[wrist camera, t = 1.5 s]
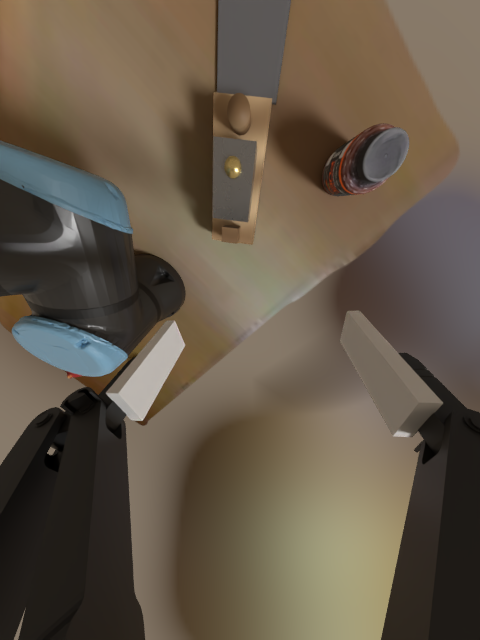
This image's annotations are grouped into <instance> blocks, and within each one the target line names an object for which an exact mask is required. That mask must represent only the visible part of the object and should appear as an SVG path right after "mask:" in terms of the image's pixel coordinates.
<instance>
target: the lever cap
mask: <svg viewBox="0 0 480 640" xmlns="http://www.w3.org/2000/svg"><path fill="white" fill-rule="evenodd" d="M257 151H258V150H257V141H250V140H241V139H233V138H224V137H215V136H213V218H217V219H225V220H233V221H241V222H248V221H249V220H250V211H251V203H252V194H253V185H254V177H255V168H256V160H257Z"/></svg>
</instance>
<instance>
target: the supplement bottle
mask: <svg viewBox="0 0 480 640" xmlns="http://www.w3.org/2000/svg"><path fill="white" fill-rule="evenodd" d="M408 149H409V138H408V135H407V133H406V131H405V130H403V129H401V128H398V127H397V128H396V127H394V126H393V125H390V124H377V125H374V126H372V127H370V128H368V129H366V130H364V131H363V132H361V133H360V134H359V135H357V136H356V137H354V138H353V139H351V140H350V141H348V142H347V143H345V144H344V145H343V146H341V147H340V148H338V149H337V150H336V151H335V152H334V153H333V154H332V155H331V156H330V158H329V159H328V161H327V162H326V164H325V167H324V170H323V174H322V183H323V187H324V189H325V190H326V192H327V193H329V194H330V195H333V196H346V195H358V194H364V193H368V192H370V191H372V190H374V189H376V188H378V187H379V186H380V185H382V184H383V183H384V182H385V181H386V180H387V179H388V178H389V177H390V176H391V175H392V174H394V173H395V172H396V171H397V170H398V168H399V167H400V166H401V165H402V163H403V161H404V160H405V157H406V155H407V152H408Z"/></svg>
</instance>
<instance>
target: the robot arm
mask: <svg viewBox="0 0 480 640" xmlns="http://www.w3.org/2000/svg"><path fill="white" fill-rule="evenodd" d="M132 233H133V229H132V228H131V226H130V220H129V215H128V209H127V204H126V200H125V197H124V195H123V194H122V192H121V191H120V190H119V188H118V187H117V186H116V185H114V184H113V183H112V182H110V181H108V180H106V179H104V178H102V177H99V176H97V175H94V174H92V173H89V172H87V171H84V170H81V169H79V168H76V167H73V166H70V165H68V164H65V163H62V162H59V161H57V160H54V159H51V158H49V157H46V156H43V155H40V154H37V153H35V152H32V151H29V150H26V149H23V148H21V147H18V146H15V145H12V144H9V143H6V142H3V141H0V296H8V295H18V294H22V295H23V296H24V298H25V299H26V301H27V303H28V305H29V307H30V308H31V310H32V315H30V316H24V317H22V318H20V319H19V321H18V322H17V323H16V324H14V327H13V328H12V334H13V336H14V338H15V339H16V340H17V342H18V343H19V344H20V345H21V346H22V347H24V348H25V349H26V350H27V351H29V352H30V353H31V354H33V355H34V356H36V357H38V358H40V359H41V360H43V361H45V362H47V363H49V364H51V365H53V366H55V367H57V368H60V369H62V370H65V371H68V372H71V373H74V374H79V375H83V376H93V377H96V376H103V375H105V374H109V373H111V372H112V371H114V370H115V369H116V368H117V367H118V366H119V365H120V364H121V363H122V362H123V361H125V360H126V359H127V358H128V355H129V354H130V353H131V352H132V351H133V350H134V348H135V347H136V346H137V345H138V344H139V343H140V342H141V340H142V339H143V338H144V337H145V336H146V335H147V334H148V332H149V331H150V330H151V329H152V328H153V327H154V326H155V324H156V323H157V322H159V321H161V320H163V319H165V318H167V317H170V316H172V315H174V314H175V313H176V312H177V311H178V310H179V309H180V307H181V306H182V305H183V303H184V300H185V287H184V284H183V281H182V279H181V277H180V276H179V274H178V273H177V272H176V270H175V269H174V268H173V267H172V266H171V265H170V264H168V263H167V262H166V261H164V260H162V259H160V258H158V257H156V256H153V255H148V254H139V255H135V256H134V249H133V241H132ZM340 342H341V344H342V346H343V348H344V349H345V351H346V353H347V355H348V357H349V358H350V360H351V362H352V364H353V366H354V367H355V369H356V371H357V373H358V375H359V376H360V378H361V380H362V382H363V383H364V385H365V387H366V389H367V390H368V392H369V394H370V396H371V398H372V399H373V401H374V403H375V405H376V407H377V408H378V410H379V412H380V414H381V416H382V417H383V419H384V421H385V423H386V424H387V426H388V428H389V430H390V432H391V433H392V435H393V436H400V437H413V436H414V435H415V434H416V433H417V431H419V432H420V434H421V436H422V437H423V439H424V440H423V441H422V442H421V443H420V444H419V445H418V446H417V447H416V448H415V450H414V451H415V452H418V451H420V452H419V457H418V462H417V467H416V472H415V477H414V482H413V486H412V491H411V496H410V501H409V506H408V511H407V516H406V521H405V526H404V530H403V535H402V540H401V545H400V550H399V555H398V560H397V564H396V569H395V574H394V579H393V584H392V589H391V594H390V598H389V604H388V608H387V613H386V618H385V623H384V628H383V633H382V638H381V640H480V413H479V412H476V411H473V410H470V409H467V408H466V407H465V406H464V405H463V404H462V403H461V402H460V401H459V400H458V399H457V398H456V397H455V396H454V395H453V394H452V393H451V392H450V391H449V390H448V389H447V388H446V387H445V386H444V385H443V384H442V383H441V382H440V381H439V380H438V379H437V378H435V377H434V375H433V374H432V373H431V372H430V371H428V370H427V368H426V367H425V366H424V365H423V364H422V363H421V362H420V361H419V360H417V359H416V358H414V357H412V356H411V355H409V354H407V353H397V352H396V350H394V349H393V347H392V346H391V345H390V344H389V343H388V342H387V341H386V339H385V338H384V337H383V336H382V335H381V334H380V333H379V332H378V331H377V330H376V329H375V328H374V326H373V325H372V324H371V323H370V322H369V321H368V320H367V319H366V317H365V316H364V315H363V314H362V313H361V312H360V311H347V314H346V318H345V322H344V326H343V331H342V335H341V339H340ZM184 347H185V344H184V341H183V339H182V337H181V334H180V332H179V330H178V327H177V325H176V322H175V321H166V322H165V323H164V324H163V326H162V327H161V328H160V329H159V330H158V332H157V333H156V334H155V335H154V336H153V337H152V339H151V340H150V341H149V342H148V343H147V345H146V346H145V347H144V348H143V349H142V350H141V352H140V353H139V354H138V355H137V356H136V357H134V358H133V359H131V360H130V361H129V362H127V363H126V364H125V365H124V367H123V368H122V369H121V370H120V371H119V372H118V374H117V376H115V377H114V378H113V379H112V380H111V382H110V383H109V384H108V385H107V386H106V387H105V388H104V390H103V391H102V392H101V393H100V394H99V395H97V394H96V393H95V392H94V391H93V390H92V389H91V388H89V387H85V388H81V389H79V390H77V391H75V392H74V393H72V394H71V395H69V396H68V397H67V398H66V399H65V400H64V401H63V402H62V404H61V406H60V407H62V408H63V409H64V410H65V412H64V411H62V410H61V409H59V408H57V407H55V408H51V409H48V410H46V411H44V412H42V413H41V414H40V415H38V416H37V417H36V418H35V419H34V420H33V421H32V422H31V423H30V424H29V425H28V427H27V428H26V430H25V431H24V432H23V434H22V435H21V437H20V438H19V439H18V441H17V442H16V444H15V445H14V447H13V448H12V450H11V451H10V452H9V454H8V455H7V457H6V458H5V460H4V461H3V462H2V464H1V465H0V640H14V637H15V634H16V632H17V629H18V626H19V624H20V621H21V618H22V616H23V613H24V610H25V608H26V610H25V614H24V618H23V622H22V627H21V631H20V636H19V639H18V640H145V633H144V622H143V615H142V610H141V607H140V605H139V602H138V601H137V599H136V596H135V592H134V580H133V561H132V542H131V523H130V503H129V484H128V465H127V446H126V426H125V422H124V420H123V419H124V418H125V416H126V415H127V416H128V417H129V418H130V419H131V420H136V421H143V419H144V417H145V416H146V414H147V412H148V410H149V409H150V407H151V405H152V403H153V401H154V400H155V398H156V396H157V394H158V393H159V391H160V389H161V387H162V385H163V384H164V382H165V380H166V378H167V377H168V375H169V373H170V371H171V370H172V368H173V366H174V364H175V362H176V361H177V359H178V357H179V355H180V354H181V352H182V350H183V348H184ZM50 447H52V448H54V449H56V450H55V452H54V454H53V455H49V454H47V452H48V450H49V448H50Z"/></svg>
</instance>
